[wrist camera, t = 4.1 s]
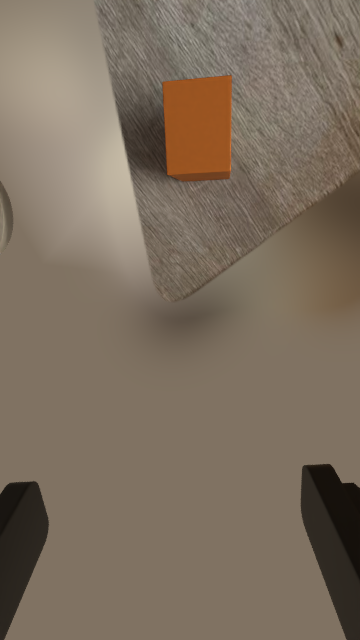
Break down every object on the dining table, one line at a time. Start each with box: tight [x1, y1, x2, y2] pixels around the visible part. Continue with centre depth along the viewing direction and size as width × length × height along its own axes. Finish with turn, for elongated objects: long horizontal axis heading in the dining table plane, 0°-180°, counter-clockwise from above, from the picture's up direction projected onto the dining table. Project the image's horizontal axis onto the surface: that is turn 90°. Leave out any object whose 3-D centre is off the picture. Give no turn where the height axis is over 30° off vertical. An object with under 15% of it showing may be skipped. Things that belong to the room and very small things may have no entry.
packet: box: [162, 75, 232, 181], centre depth 23 cm, size 4×5×8 cm
